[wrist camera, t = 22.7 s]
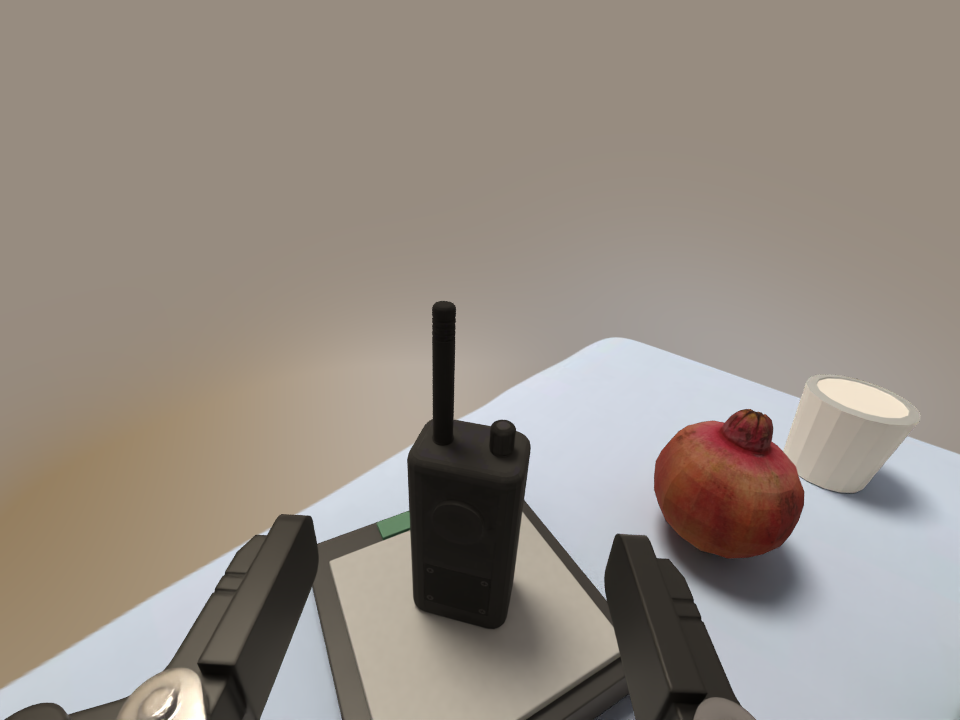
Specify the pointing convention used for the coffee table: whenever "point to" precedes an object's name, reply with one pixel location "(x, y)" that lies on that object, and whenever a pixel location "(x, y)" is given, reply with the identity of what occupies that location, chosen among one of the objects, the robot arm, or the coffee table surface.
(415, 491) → the walkie-talkie
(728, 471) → the fruit
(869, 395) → the white candle
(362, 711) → the scale
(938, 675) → the coffee table surface
